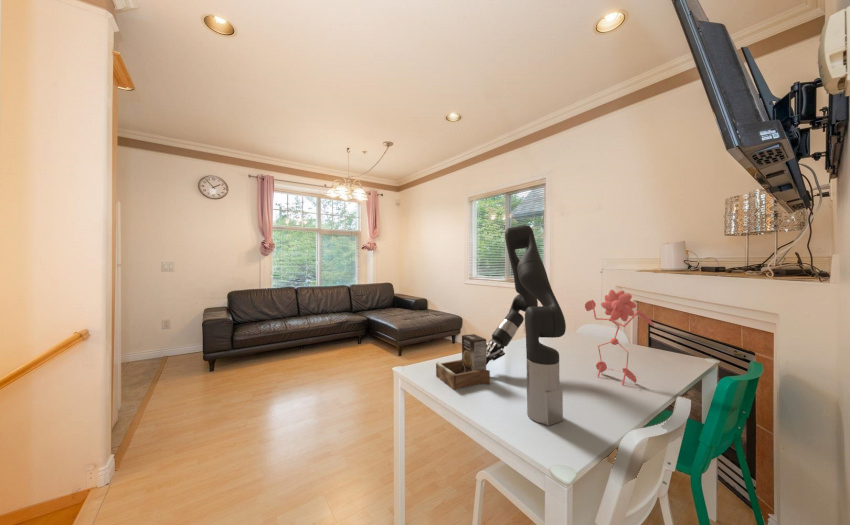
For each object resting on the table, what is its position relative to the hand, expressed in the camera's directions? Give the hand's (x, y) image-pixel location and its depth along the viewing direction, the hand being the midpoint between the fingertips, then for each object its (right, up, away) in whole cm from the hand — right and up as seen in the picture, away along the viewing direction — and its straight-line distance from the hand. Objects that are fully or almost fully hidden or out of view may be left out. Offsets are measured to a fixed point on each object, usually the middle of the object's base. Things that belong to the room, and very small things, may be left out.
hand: (481, 365), depth 122 cm
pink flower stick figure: (+54, -3, -5) cm, 54 cm away
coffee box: (-3, -4, -1) cm, 6 cm away
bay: (-9, -4, -4) cm, 11 cm away
